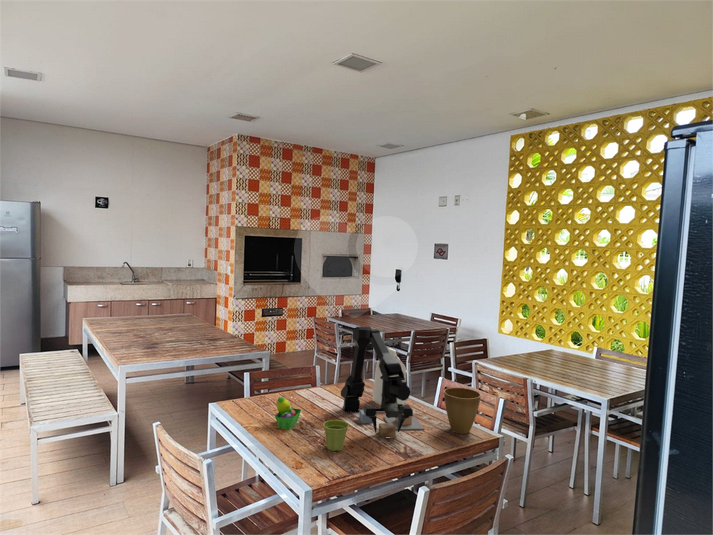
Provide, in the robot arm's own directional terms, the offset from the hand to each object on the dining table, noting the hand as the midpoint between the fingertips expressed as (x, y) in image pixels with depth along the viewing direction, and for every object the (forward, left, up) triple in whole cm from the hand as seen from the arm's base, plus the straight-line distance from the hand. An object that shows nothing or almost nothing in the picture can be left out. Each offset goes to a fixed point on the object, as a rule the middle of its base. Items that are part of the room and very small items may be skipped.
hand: (386, 431), depth 187 cm
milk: (+10, +39, -2) cm, 40 cm away
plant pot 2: (+32, +4, -2) cm, 32 cm away
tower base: (+10, +12, -1) cm, 16 cm away
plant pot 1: (-22, -11, -2) cm, 25 cm away
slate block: (-5, +16, -2) cm, 17 cm away
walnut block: (0, 0, -2) cm, 2 cm away
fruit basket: (-39, +12, -2) cm, 41 cm away
